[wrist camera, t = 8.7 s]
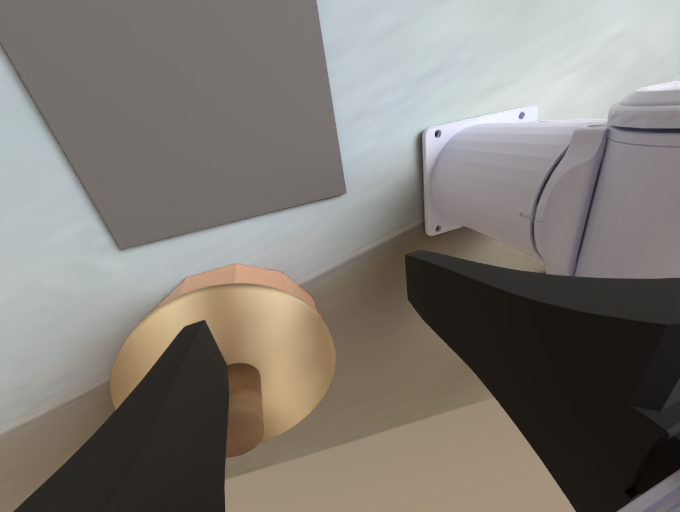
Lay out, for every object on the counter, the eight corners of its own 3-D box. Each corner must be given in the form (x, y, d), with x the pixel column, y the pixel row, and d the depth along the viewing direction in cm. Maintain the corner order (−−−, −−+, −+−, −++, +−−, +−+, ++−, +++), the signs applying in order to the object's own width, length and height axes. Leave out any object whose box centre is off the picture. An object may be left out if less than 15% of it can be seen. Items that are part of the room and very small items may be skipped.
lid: (311, 256, 16) (332, 295, 12) (345, 397, 22) (367, 455, 18) (63, 328, 14) (-8, 405, 10) (175, 467, 19) (158, 550, 16)
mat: (297, -103, 13) (299, -109, 13) (344, 192, 19) (346, 193, 19) (-72, -93, 10) (-83, -100, 10) (123, 246, 17) (120, 249, 16)
